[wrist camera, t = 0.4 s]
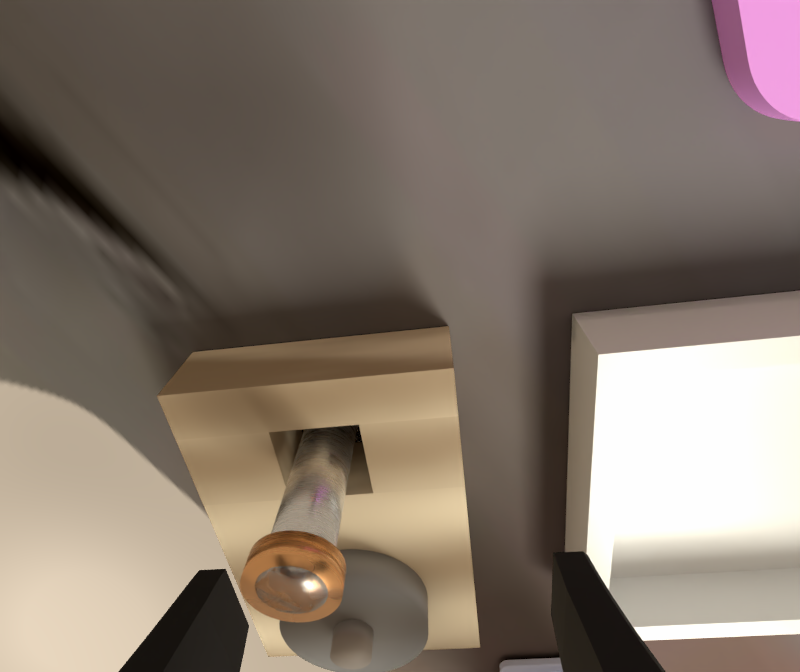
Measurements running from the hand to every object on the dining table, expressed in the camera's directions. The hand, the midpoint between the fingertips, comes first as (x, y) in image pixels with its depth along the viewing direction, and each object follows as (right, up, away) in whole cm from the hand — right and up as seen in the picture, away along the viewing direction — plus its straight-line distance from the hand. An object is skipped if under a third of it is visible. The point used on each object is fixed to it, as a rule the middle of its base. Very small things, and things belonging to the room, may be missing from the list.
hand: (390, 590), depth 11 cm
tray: (+15, +1, +10) cm, 18 cm away
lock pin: (-2, +2, +10) cm, 10 cm away
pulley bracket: (-2, -1, +11) cm, 12 cm away
